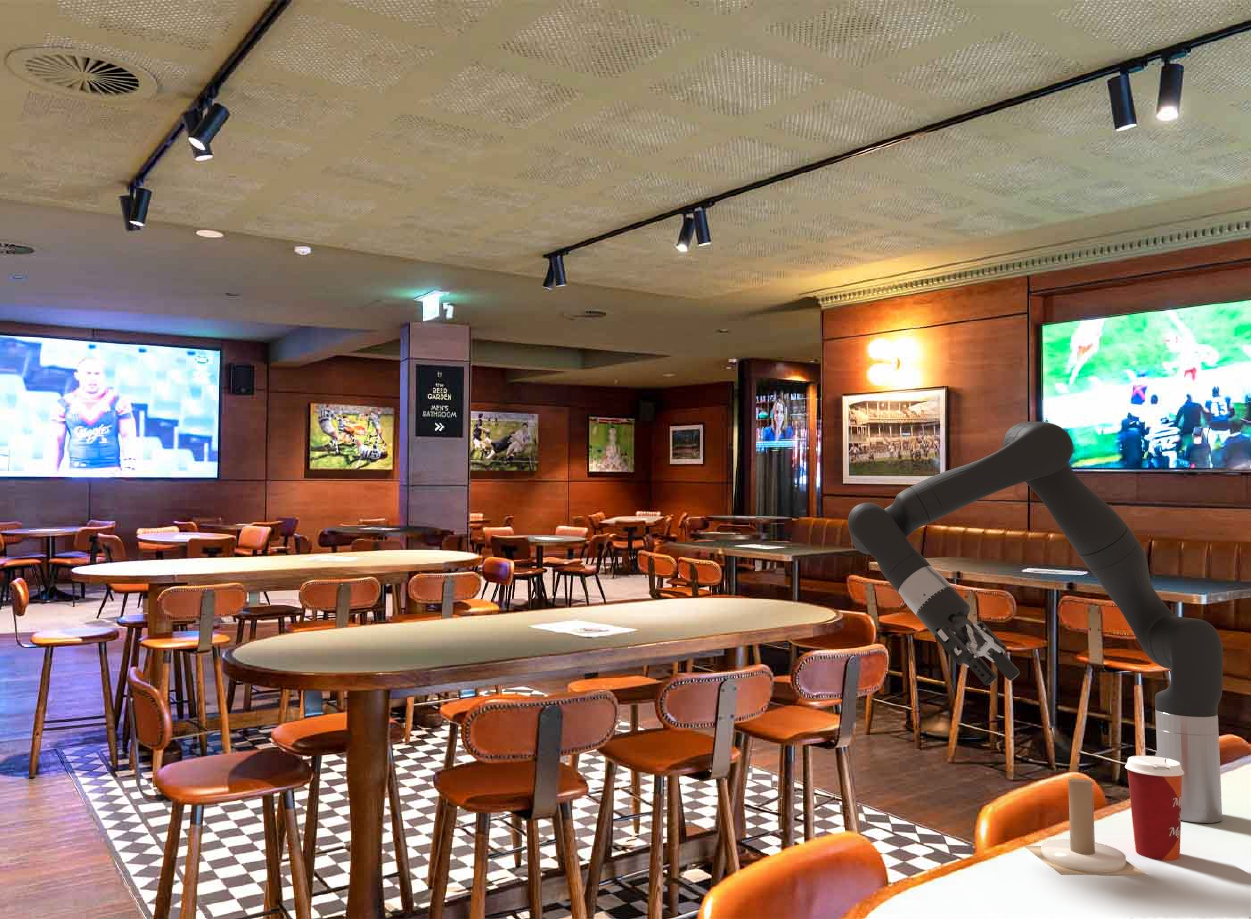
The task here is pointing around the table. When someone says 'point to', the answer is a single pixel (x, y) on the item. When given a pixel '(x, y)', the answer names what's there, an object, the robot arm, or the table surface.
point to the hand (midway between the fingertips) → (1004, 679)
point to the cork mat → (1128, 870)
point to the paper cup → (1156, 806)
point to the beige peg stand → (1082, 837)
